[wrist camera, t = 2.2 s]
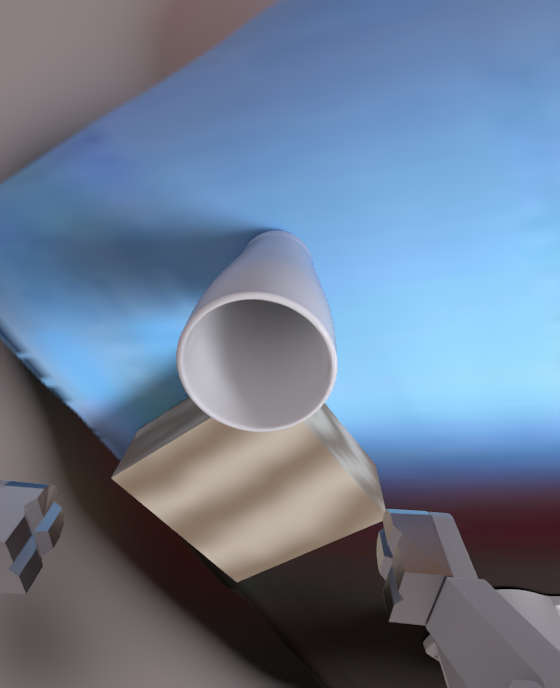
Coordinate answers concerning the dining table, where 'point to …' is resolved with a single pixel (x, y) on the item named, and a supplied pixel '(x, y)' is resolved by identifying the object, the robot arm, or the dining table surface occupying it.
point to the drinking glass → (261, 339)
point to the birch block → (252, 486)
